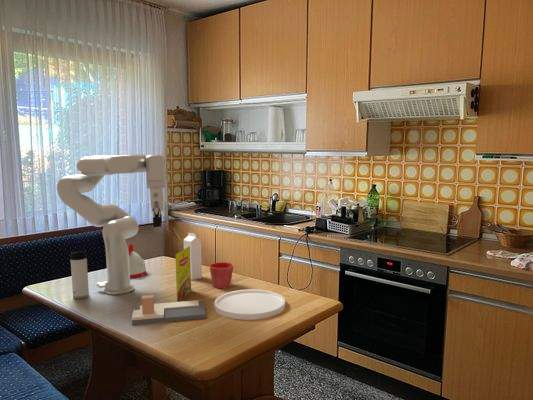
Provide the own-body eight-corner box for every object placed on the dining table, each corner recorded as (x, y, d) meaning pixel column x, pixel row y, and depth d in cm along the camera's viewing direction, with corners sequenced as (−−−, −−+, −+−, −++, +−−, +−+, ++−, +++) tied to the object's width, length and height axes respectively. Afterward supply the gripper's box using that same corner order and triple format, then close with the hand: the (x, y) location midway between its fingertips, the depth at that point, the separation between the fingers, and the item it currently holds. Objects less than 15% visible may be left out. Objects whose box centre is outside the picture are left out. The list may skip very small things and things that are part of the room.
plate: (252, 327, 149) (252, 320, 148) (199, 308, 167) (199, 302, 166) (299, 304, 170) (299, 298, 169) (248, 290, 188) (248, 285, 188)
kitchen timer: (148, 270, 221) (147, 241, 219) (142, 278, 207) (141, 247, 206) (121, 270, 220) (120, 242, 219) (113, 278, 207) (111, 248, 205)
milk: (192, 280, 202) (190, 235, 200) (184, 277, 206) (182, 233, 204) (202, 277, 207) (200, 232, 204) (194, 275, 211) (193, 231, 208)
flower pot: (223, 280, 201) (222, 260, 200) (238, 285, 193) (238, 264, 192) (205, 285, 194) (204, 265, 193) (220, 291, 186) (219, 269, 185)
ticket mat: (132, 325, 151) (131, 319, 150) (135, 309, 165) (135, 304, 165) (205, 318, 156) (205, 312, 156) (202, 303, 171) (202, 298, 170)
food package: (178, 302, 173) (176, 254, 170) (175, 302, 173) (174, 254, 171) (192, 290, 188) (190, 246, 185) (190, 290, 188) (188, 245, 186)
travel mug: (73, 300, 176) (70, 253, 174) (72, 295, 182) (69, 250, 180) (89, 297, 179) (86, 251, 177) (88, 293, 185) (85, 248, 183)
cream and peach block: (131, 320, 151) (131, 301, 150) (133, 312, 158) (132, 294, 157) (163, 317, 153) (163, 298, 152) (164, 310, 160) (163, 292, 159)
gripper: (164, 185, 170) (166, 227, 172) (165, 182, 187) (167, 221, 189) (145, 186, 168) (147, 228, 170) (147, 183, 185) (149, 222, 187)
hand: (157, 224), depth 180 cm, fingers open, 9 cm apart
